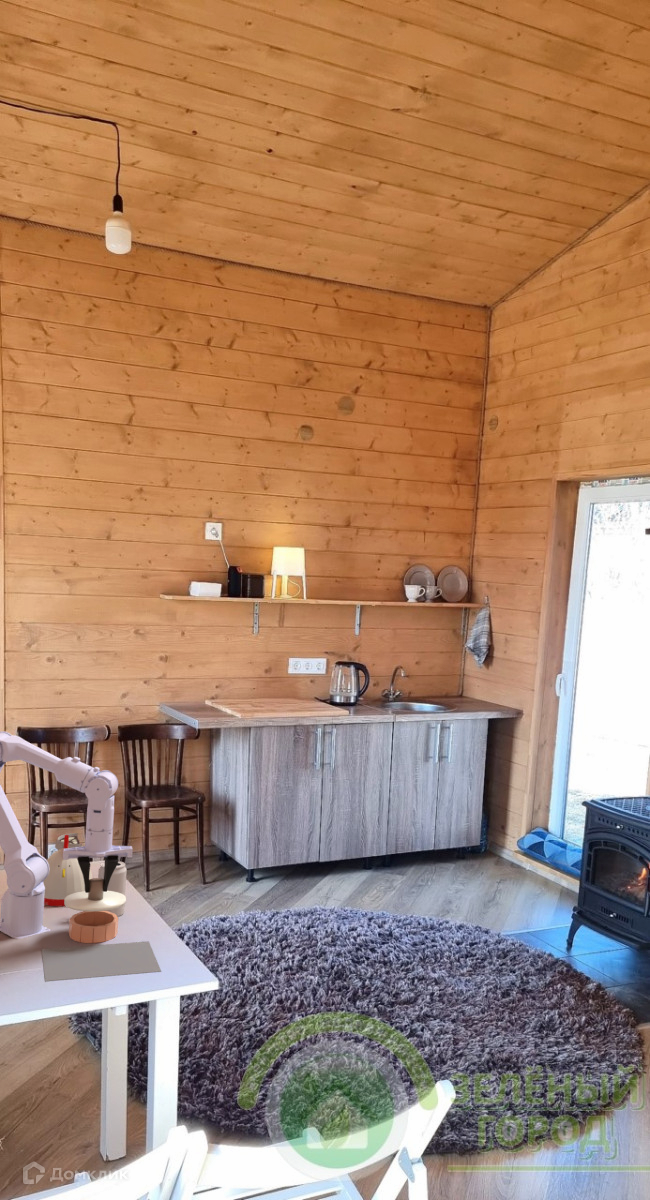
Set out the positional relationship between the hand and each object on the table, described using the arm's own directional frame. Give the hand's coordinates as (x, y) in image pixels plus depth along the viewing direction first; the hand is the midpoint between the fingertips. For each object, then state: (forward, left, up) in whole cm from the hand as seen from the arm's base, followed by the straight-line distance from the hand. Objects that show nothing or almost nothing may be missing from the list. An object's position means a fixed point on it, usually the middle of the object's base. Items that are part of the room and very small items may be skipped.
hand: (95, 890), depth 193 cm
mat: (+13, -7, -10) cm, 18 cm away
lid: (0, 0, -2) cm, 2 cm away
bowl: (0, 0, -10) cm, 10 cm away
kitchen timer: (-27, +10, -10) cm, 30 cm away
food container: (-40, +19, -10) cm, 45 cm away
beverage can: (-9, +11, -10) cm, 17 cm away
